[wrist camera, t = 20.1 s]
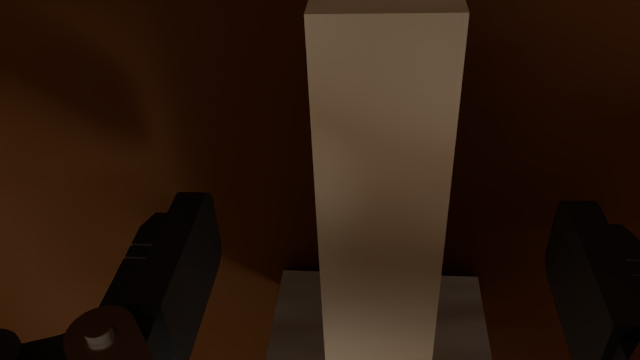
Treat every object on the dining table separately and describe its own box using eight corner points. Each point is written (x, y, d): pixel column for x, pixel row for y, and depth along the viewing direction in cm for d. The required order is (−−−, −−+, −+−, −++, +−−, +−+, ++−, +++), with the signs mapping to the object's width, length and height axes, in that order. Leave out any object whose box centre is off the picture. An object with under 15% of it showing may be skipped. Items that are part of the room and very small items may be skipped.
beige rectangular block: (248, -68, 13) (186, 14, 9) (530, -75, 12) (600, 10, 8) (286, 285, 19) (260, 426, 15) (473, 292, 19) (496, 440, 15)
